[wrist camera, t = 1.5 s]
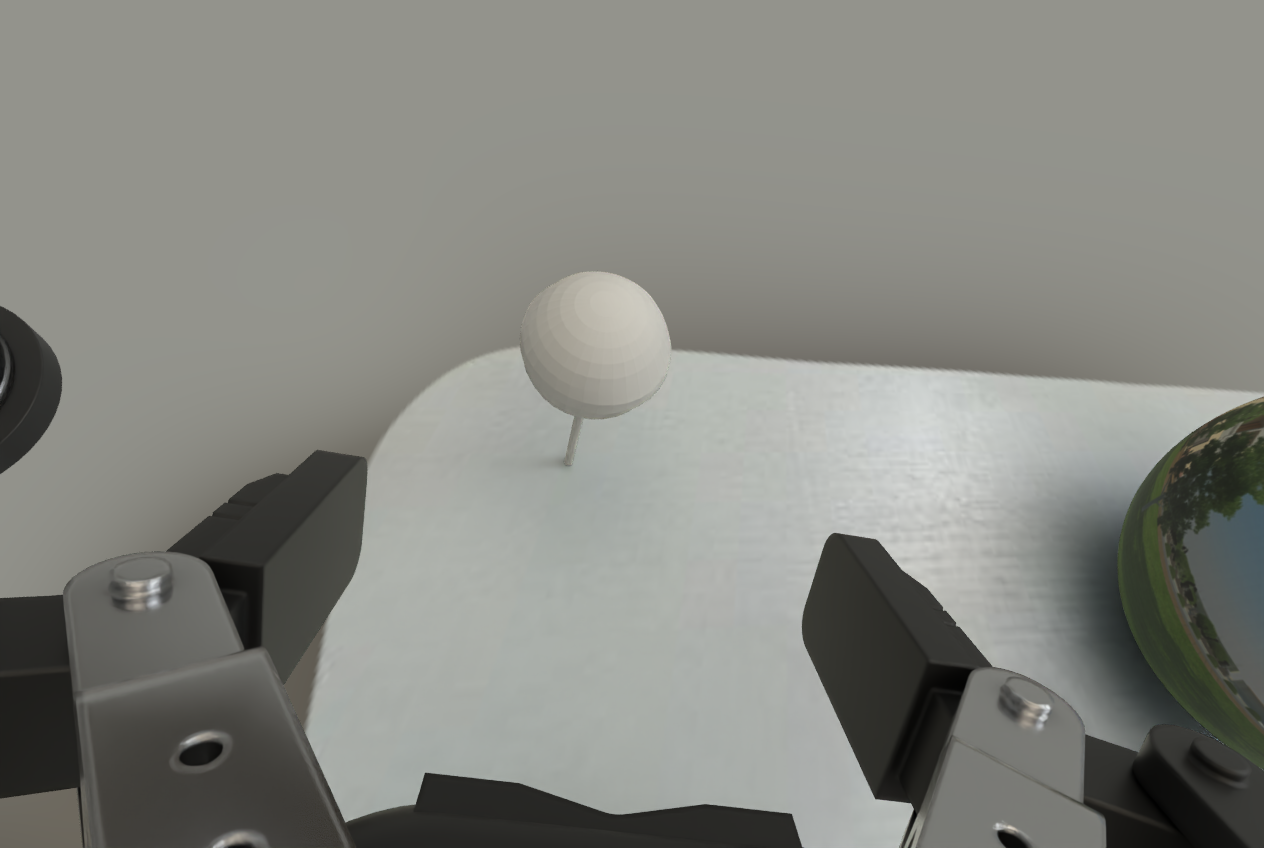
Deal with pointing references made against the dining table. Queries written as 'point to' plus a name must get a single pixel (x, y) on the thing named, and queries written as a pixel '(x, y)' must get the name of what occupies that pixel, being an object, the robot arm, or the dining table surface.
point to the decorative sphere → (1204, 575)
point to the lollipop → (594, 347)
